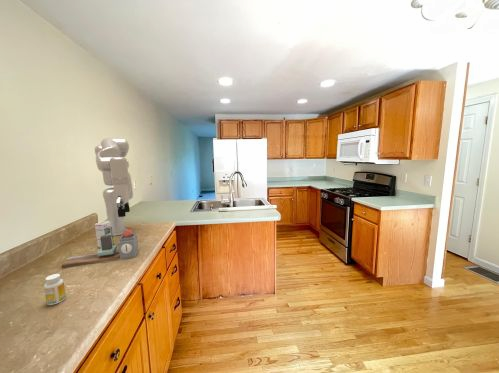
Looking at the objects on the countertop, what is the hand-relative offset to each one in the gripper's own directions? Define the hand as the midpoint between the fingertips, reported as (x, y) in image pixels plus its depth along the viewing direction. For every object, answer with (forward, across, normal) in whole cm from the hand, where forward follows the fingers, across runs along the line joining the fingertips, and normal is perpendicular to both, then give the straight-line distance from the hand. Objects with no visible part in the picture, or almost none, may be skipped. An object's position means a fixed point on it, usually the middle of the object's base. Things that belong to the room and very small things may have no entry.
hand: (124, 214), depth 112 cm
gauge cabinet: (+22, 0, 0) cm, 22 cm away
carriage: (+19, 0, -10) cm, 22 cm away
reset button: (+12, 0, 0) cm, 12 cm away
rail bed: (+22, 0, -16) cm, 27 cm away
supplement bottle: (+23, +33, -17) cm, 44 cm away
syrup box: (+22, -18, -16) cm, 33 cm away
